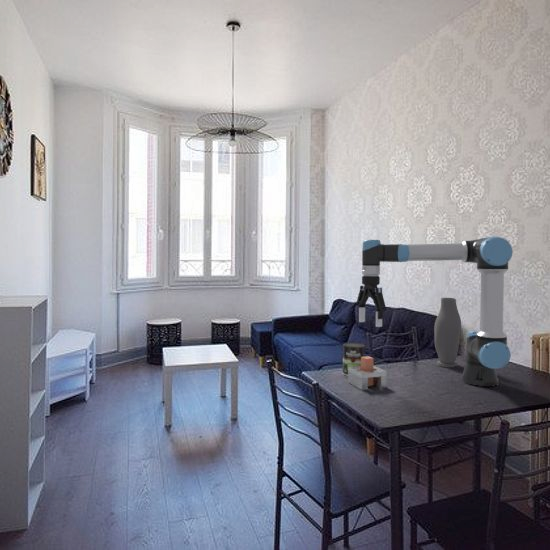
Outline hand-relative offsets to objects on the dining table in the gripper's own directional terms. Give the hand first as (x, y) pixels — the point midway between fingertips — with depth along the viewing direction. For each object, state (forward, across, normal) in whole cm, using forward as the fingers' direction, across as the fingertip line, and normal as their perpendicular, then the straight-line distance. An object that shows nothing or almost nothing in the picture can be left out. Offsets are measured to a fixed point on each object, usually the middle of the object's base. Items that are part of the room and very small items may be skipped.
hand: (370, 324), depth 192 cm
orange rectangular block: (+27, 0, -1) cm, 27 cm away
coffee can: (+27, -17, +2) cm, 32 cm away
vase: (+27, -17, +57) cm, 65 cm away
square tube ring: (+27, 0, -1) cm, 27 cm away
